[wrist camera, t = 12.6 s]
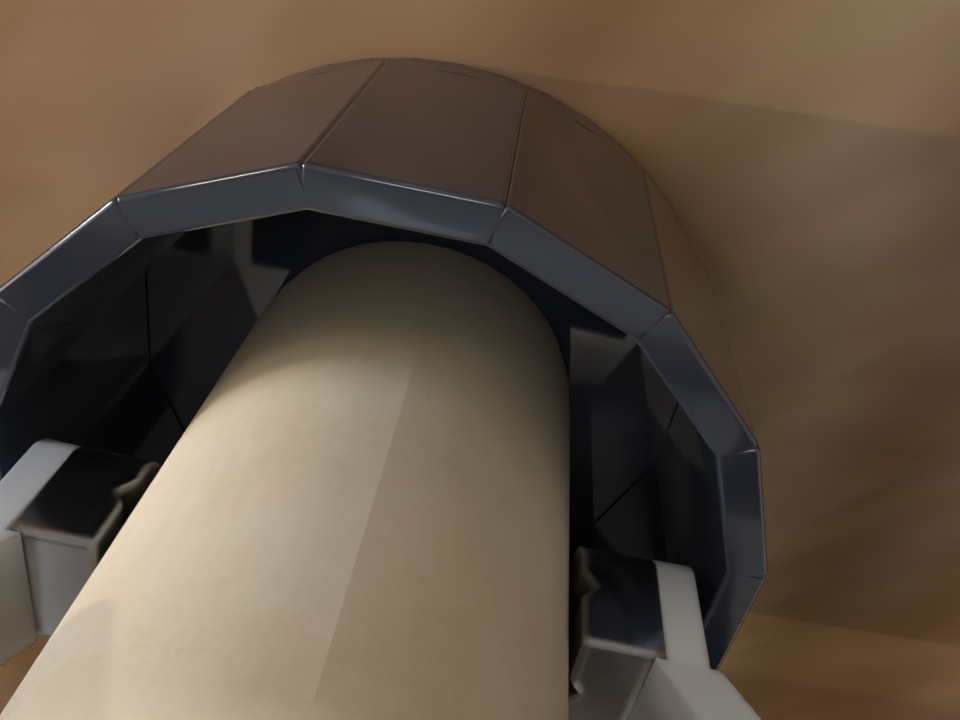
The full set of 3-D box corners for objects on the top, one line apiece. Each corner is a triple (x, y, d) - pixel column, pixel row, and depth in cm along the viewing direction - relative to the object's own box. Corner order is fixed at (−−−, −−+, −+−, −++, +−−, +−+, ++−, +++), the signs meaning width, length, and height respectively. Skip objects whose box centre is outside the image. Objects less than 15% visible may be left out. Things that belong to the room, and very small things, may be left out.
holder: (146, 506, 18) (13, 716, 13) (119, -8, 12) (-122, 76, 8) (619, 599, 18) (634, 836, 14) (801, 133, 12) (920, 287, 8)
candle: (238, 457, 16) (-140, 1158, 7) (279, 191, 13) (-267, 856, 5) (516, 532, 16) (455, 1286, 8) (617, 292, 13) (694, 1080, 5)
